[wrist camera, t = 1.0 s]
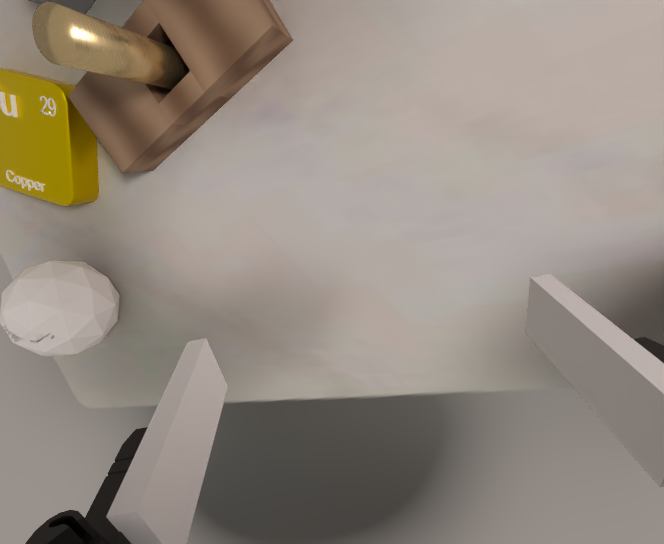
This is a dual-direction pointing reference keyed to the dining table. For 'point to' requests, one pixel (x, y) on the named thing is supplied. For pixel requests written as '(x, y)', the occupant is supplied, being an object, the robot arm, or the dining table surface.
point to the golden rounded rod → (104, 47)
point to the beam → (193, 90)
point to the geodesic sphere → (59, 308)
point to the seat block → (71, 4)
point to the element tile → (45, 141)
